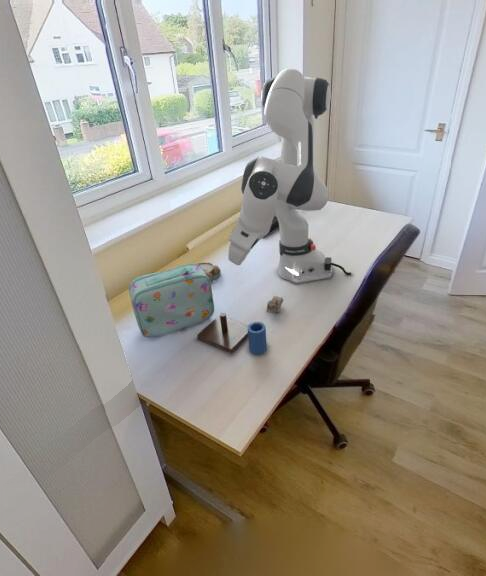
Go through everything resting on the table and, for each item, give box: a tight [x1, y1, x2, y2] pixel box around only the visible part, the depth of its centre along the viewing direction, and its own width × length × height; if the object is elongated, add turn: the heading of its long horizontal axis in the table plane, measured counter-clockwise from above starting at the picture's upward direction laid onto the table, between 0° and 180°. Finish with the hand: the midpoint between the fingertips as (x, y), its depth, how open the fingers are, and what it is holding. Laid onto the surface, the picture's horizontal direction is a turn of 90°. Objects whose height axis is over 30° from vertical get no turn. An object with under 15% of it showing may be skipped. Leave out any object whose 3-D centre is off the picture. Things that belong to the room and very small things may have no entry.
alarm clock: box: [196, 261, 222, 283], centre depth 161 cm, size 11×5×15 cm
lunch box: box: [128, 263, 215, 339], centre depth 131 cm, size 27×10×21 cm, turn 117°
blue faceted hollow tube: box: [247, 321, 268, 356], centre depth 122 cm, size 5×5×9 cm
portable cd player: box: [262, 215, 280, 239], centre depth 198 cm, size 16×17×4 cm
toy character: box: [265, 295, 284, 314], centre depth 140 cm, size 4×8×6 cm, turn 154°
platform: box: [196, 312, 248, 355], centre depth 128 cm, size 14×12×9 cm
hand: (249, 247), depth 119 cm, fingers open, 8 cm apart
